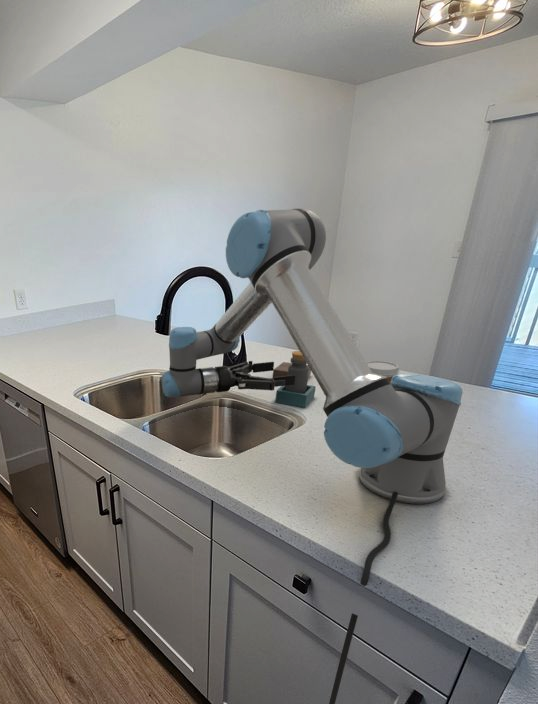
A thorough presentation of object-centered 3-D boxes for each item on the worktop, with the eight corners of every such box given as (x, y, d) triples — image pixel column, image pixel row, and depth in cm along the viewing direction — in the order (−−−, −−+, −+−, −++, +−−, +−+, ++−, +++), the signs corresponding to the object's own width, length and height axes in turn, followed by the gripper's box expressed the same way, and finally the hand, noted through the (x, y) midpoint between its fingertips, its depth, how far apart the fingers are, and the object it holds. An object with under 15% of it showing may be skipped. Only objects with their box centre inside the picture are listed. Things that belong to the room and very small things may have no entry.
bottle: (307, 403, 132) (314, 355, 125) (287, 404, 132) (293, 356, 125) (301, 396, 137) (307, 349, 130) (282, 397, 137) (287, 350, 130)
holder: (304, 408, 129) (306, 395, 127) (275, 402, 134) (276, 390, 132) (313, 398, 135) (315, 386, 133) (285, 393, 140) (286, 381, 138)
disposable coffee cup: (395, 411, 123) (405, 370, 118) (359, 410, 125) (367, 370, 120) (385, 398, 131) (394, 360, 126) (351, 398, 133) (358, 360, 128)
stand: (301, 385, 146) (302, 373, 144) (272, 380, 151) (273, 369, 149) (310, 376, 153) (311, 365, 151) (282, 372, 158) (283, 361, 156)
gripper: (202, 378, 140) (264, 372, 142) (229, 407, 118) (302, 399, 120) (202, 356, 136) (266, 349, 139) (230, 381, 114) (306, 373, 117)
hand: (283, 372), depth 129 cm, fingers open, 13 cm apart
